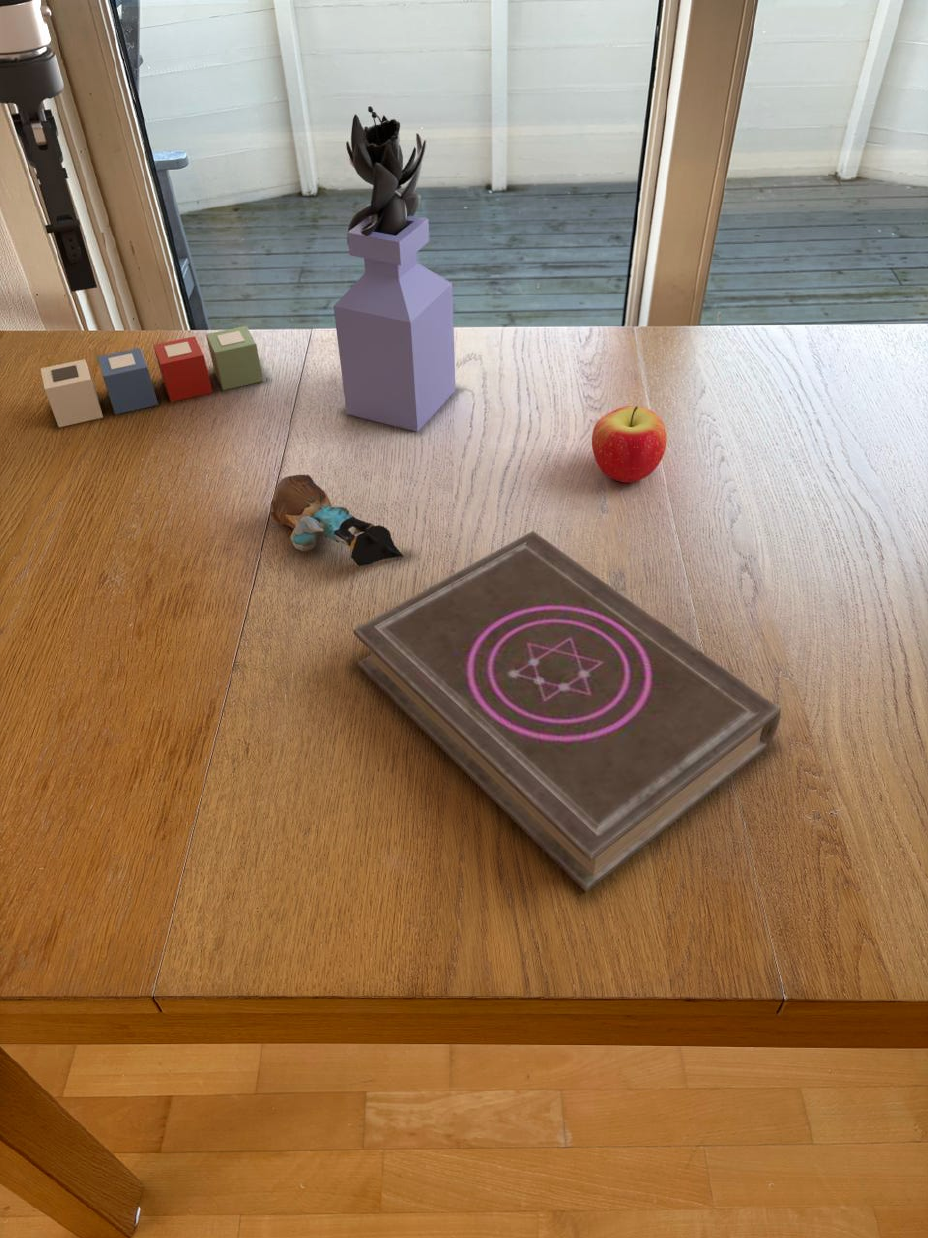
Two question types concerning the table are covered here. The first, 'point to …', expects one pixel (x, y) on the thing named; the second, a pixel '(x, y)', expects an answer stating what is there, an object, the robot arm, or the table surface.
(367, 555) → the figurine
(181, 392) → the red block
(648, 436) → the apple
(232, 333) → the sage block
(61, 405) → the cream block
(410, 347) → the vase
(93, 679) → the table surface
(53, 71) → the robot arm
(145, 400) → the blue block
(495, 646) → the book
